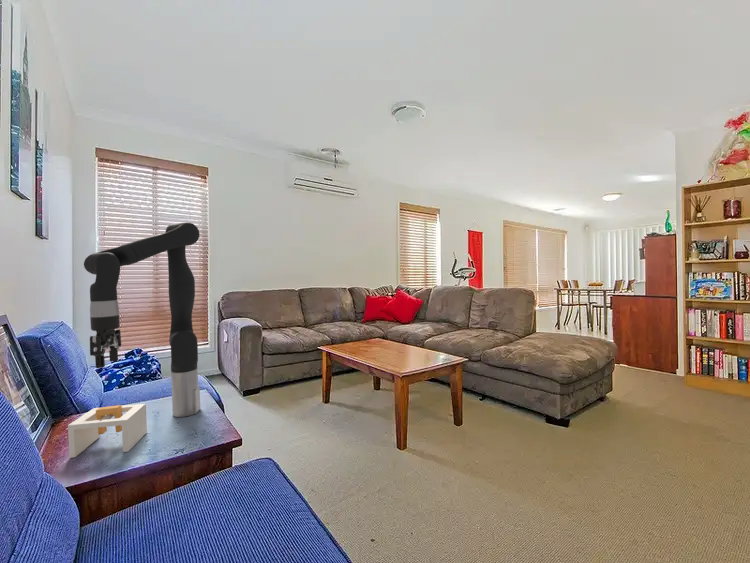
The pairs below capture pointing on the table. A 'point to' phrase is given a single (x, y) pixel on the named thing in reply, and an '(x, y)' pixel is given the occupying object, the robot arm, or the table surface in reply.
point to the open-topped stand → (87, 426)
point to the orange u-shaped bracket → (109, 411)
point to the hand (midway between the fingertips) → (107, 364)
